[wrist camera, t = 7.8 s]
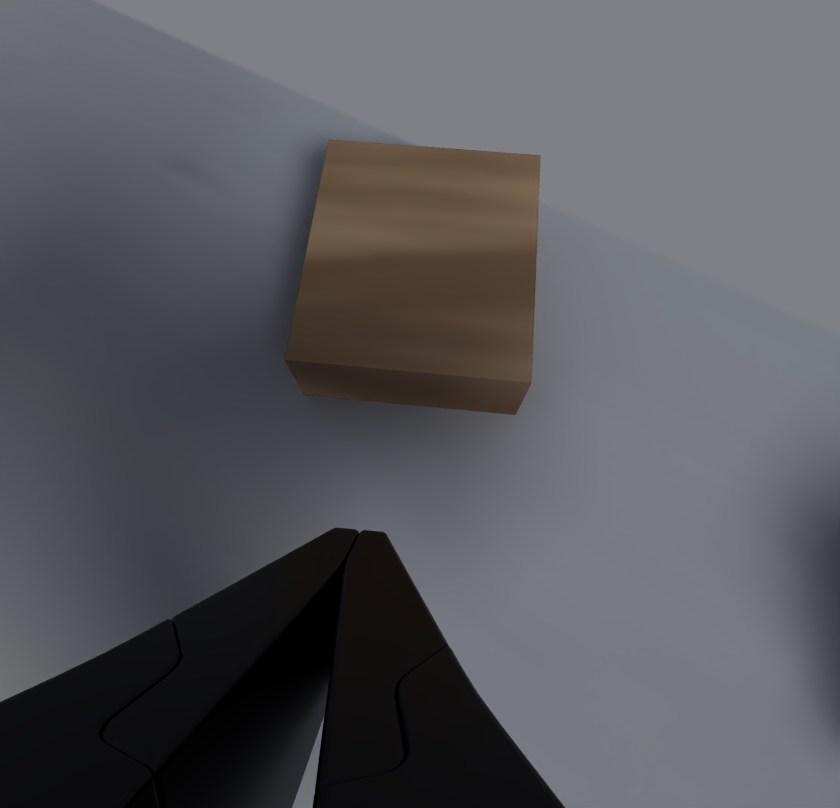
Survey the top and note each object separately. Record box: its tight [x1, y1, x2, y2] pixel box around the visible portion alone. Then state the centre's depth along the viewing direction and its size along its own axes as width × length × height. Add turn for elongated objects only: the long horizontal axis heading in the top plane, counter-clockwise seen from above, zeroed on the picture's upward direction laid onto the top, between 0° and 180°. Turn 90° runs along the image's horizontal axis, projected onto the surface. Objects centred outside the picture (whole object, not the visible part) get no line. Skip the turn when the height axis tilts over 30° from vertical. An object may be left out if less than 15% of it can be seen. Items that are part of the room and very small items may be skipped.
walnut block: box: [285, 140, 540, 415], centre depth 18 cm, size 3×7×8 cm
